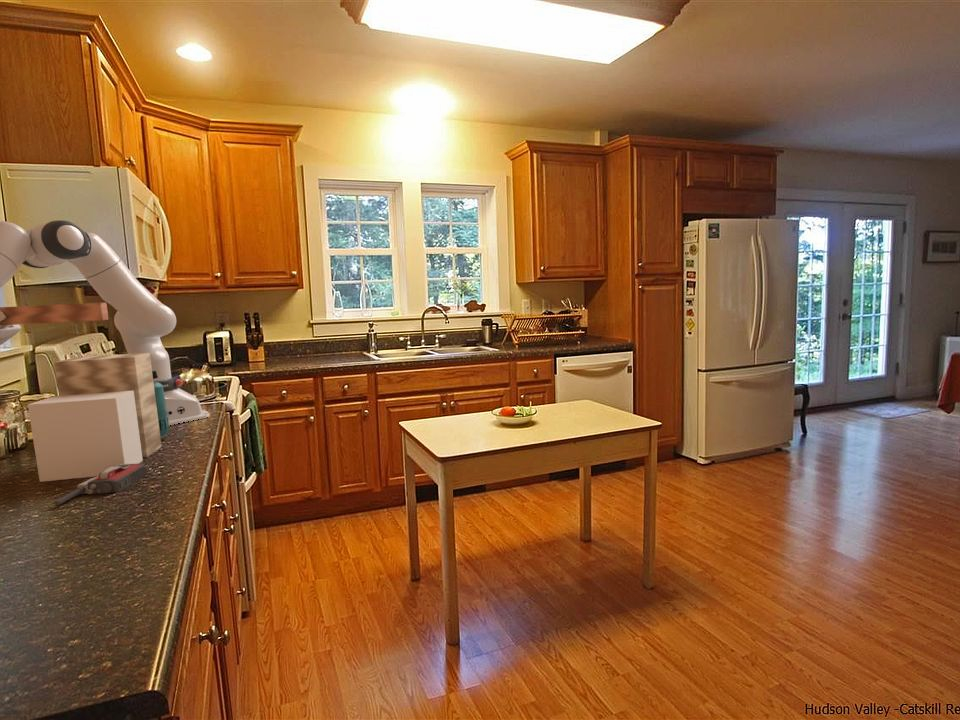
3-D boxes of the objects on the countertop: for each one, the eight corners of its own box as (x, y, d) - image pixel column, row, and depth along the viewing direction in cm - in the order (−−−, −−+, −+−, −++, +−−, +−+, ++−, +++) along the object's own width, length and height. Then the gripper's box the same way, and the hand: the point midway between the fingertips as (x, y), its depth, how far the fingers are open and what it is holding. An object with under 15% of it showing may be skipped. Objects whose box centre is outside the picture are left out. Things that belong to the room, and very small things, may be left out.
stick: (-16, 326, 126) (-19, 308, 125) (-7, 325, 129) (-10, 307, 128) (102, 320, 130) (100, 302, 130) (108, 319, 133) (106, 302, 133)
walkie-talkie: (113, 476, 131) (51, 510, 112) (111, 457, 131) (47, 489, 111) (151, 474, 132) (95, 508, 112) (149, 455, 131) (92, 486, 111)
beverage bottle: (162, 442, 159) (153, 372, 156) (139, 443, 159) (130, 373, 156) (175, 436, 165) (166, 369, 163) (152, 437, 165) (144, 370, 163)
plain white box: (39, 481, 129) (27, 404, 126) (63, 468, 138) (52, 396, 136) (125, 473, 132) (115, 398, 129) (142, 460, 142) (133, 390, 139)
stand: (69, 464, 141) (54, 362, 138) (88, 453, 151) (75, 357, 148) (147, 457, 145) (134, 357, 141) (161, 446, 154) (149, 352, 151)
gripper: (-92, 339, 116) (-31, 303, 117) (-24, 332, 136) (27, 301, 137) (-70, 365, 117) (-10, 328, 118) (-6, 353, 137) (45, 322, 138)
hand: (11, 313), depth 128 cm, fingers closed on stick, 3 cm apart
